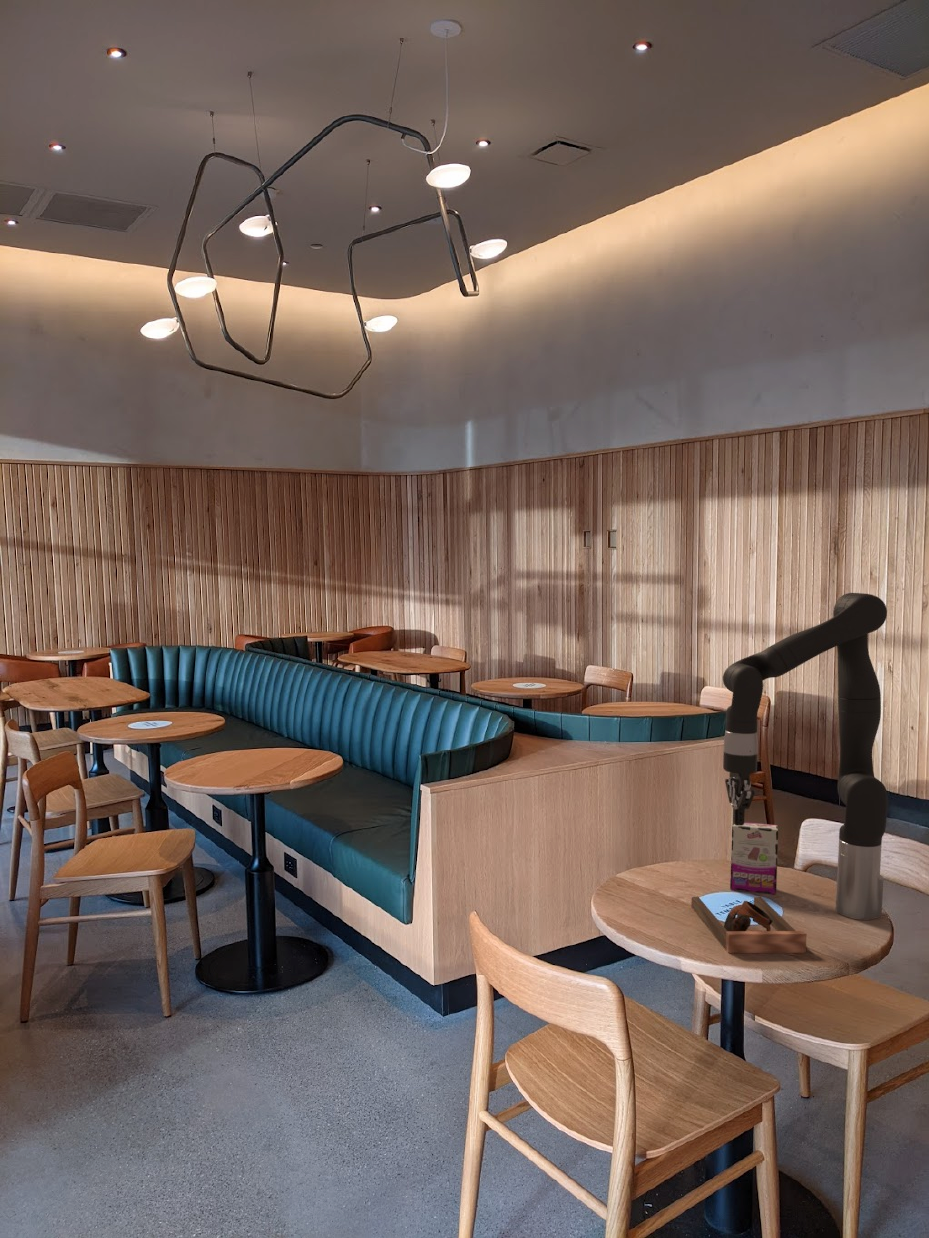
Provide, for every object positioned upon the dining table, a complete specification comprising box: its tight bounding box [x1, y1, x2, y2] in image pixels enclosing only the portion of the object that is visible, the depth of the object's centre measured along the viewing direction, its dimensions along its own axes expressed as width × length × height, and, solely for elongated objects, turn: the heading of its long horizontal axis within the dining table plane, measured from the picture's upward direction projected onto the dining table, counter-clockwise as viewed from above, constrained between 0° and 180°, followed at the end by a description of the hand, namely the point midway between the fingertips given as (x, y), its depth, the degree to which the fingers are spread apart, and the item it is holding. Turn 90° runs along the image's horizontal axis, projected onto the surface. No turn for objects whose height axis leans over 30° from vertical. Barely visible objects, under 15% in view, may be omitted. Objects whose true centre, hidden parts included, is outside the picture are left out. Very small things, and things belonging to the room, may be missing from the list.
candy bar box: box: [729, 821, 779, 895], centre depth 236 cm, size 11×5×16 cm, turn 73°
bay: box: [690, 896, 807, 954], centre depth 211 cm, size 17×26×4 cm, turn 3°
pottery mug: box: [723, 900, 773, 931], centre depth 206 cm, size 12×10×8 cm
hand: (738, 824), depth 218 cm, fingers closed
